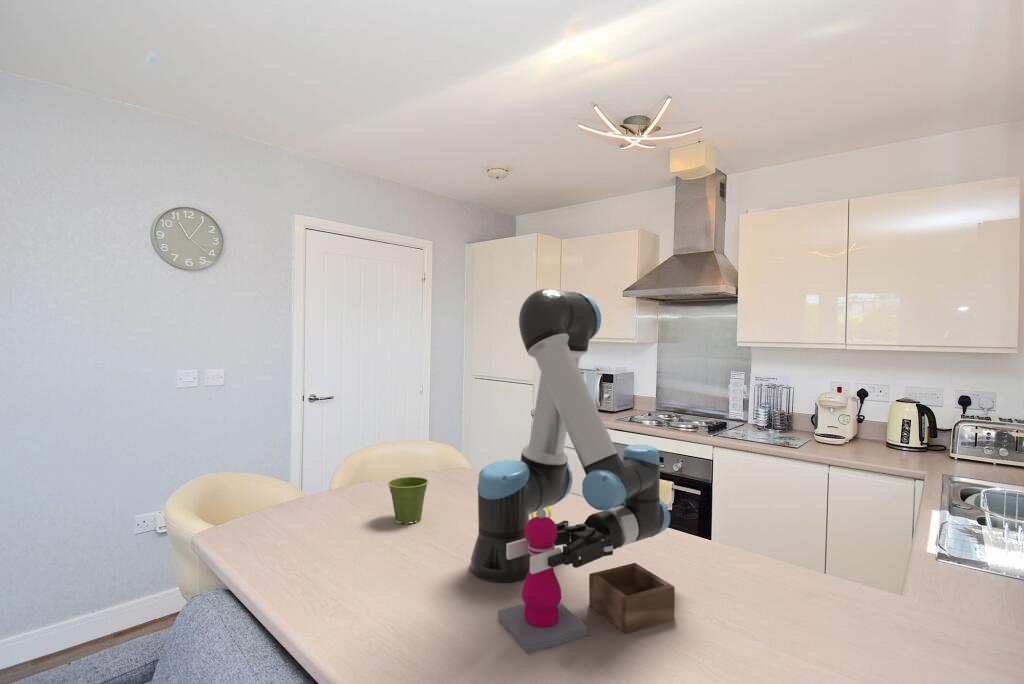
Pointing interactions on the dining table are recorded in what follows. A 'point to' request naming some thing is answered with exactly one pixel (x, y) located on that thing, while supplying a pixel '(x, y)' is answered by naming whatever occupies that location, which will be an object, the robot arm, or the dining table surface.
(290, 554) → the dining table surface
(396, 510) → the plant pot
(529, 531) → the pepper mill
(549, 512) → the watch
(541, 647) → the slate tile
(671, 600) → the walnut collar
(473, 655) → the dining table surface
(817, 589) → the dining table surface
